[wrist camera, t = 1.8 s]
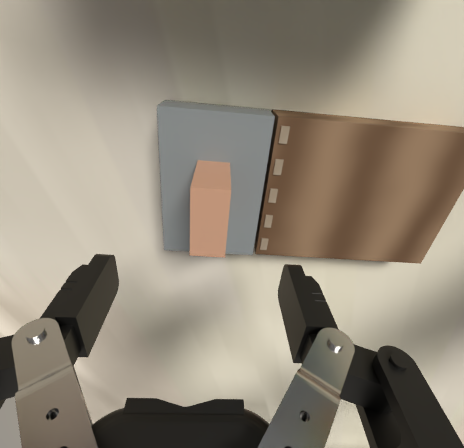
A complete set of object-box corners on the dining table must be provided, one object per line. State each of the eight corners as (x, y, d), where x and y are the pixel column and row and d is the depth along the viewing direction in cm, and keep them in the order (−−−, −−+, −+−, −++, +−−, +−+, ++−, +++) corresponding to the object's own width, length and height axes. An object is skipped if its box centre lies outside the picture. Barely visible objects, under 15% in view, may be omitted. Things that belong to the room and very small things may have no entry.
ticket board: (463, 127, 22) (495, 136, 20) (403, 245, 29) (421, 264, 26) (272, 109, 21) (278, 116, 19) (252, 235, 28) (255, 254, 25)
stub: (268, 109, 21) (289, 133, 14) (250, 236, 27) (258, 295, 20) (165, 100, 21) (135, 120, 14) (170, 231, 27) (151, 290, 20)
